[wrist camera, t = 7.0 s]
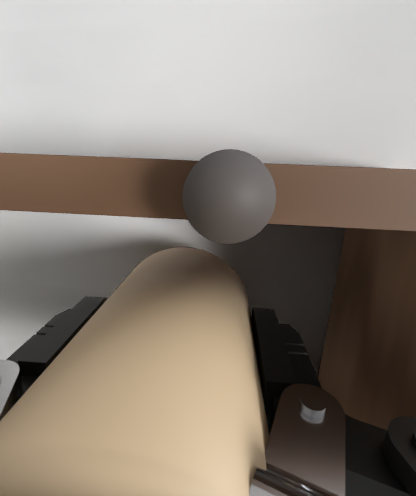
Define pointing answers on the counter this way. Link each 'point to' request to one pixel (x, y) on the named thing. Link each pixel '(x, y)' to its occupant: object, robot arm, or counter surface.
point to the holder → (252, 222)
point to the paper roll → (147, 393)
